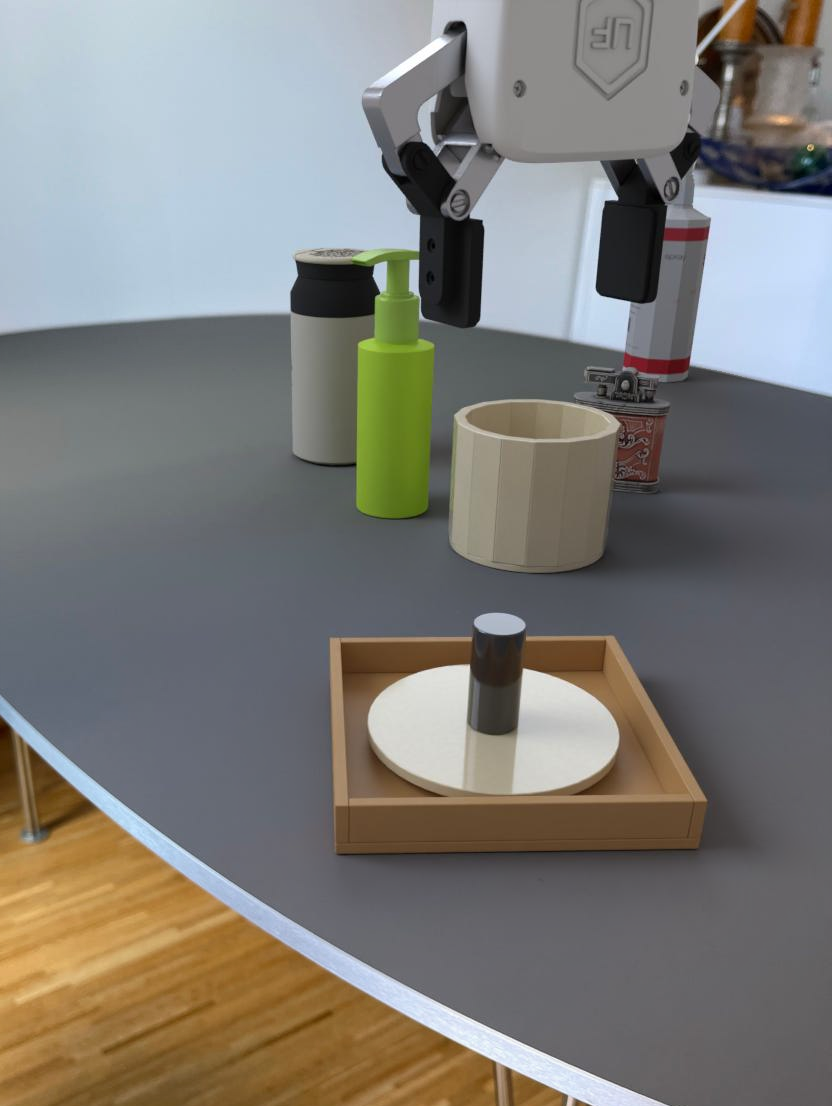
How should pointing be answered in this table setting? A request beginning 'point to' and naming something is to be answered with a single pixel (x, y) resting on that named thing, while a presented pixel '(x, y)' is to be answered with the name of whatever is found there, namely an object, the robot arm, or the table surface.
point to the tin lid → (493, 724)
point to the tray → (508, 821)
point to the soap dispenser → (394, 398)
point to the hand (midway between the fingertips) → (541, 310)
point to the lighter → (631, 423)
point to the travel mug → (328, 351)
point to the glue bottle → (671, 295)
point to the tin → (532, 484)
